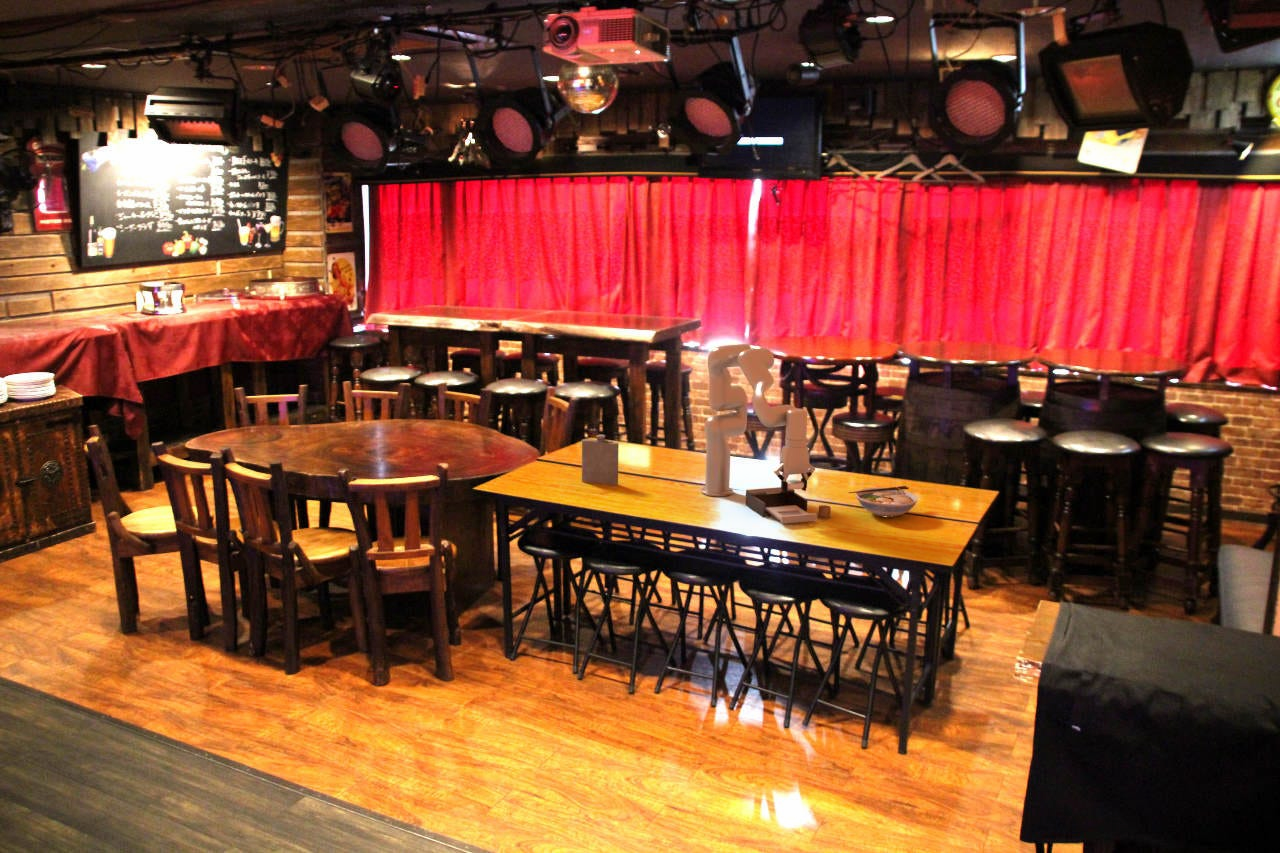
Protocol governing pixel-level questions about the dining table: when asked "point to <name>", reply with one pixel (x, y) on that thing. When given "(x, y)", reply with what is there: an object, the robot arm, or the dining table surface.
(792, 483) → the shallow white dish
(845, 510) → the dining table surface
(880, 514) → the ramen bowl
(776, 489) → the tray
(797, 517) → the tray
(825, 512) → the brown cube
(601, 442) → the hip flask
